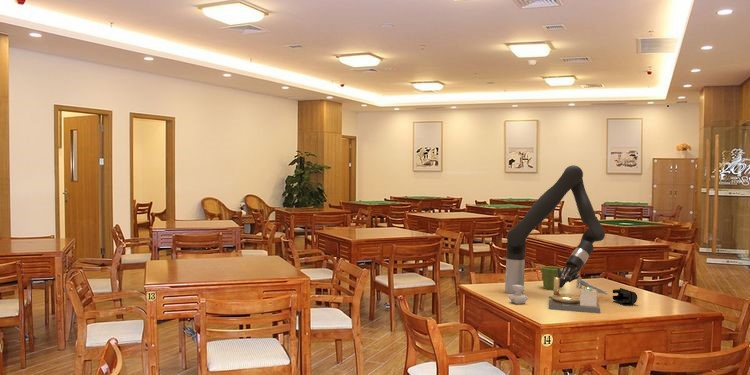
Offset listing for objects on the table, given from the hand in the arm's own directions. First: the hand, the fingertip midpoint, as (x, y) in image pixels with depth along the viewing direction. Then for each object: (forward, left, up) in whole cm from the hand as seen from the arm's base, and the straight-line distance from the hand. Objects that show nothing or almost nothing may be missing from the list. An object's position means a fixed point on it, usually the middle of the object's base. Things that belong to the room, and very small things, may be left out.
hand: (559, 286), depth 305 cm
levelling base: (+6, -8, -7) cm, 13 cm away
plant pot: (-4, +36, -8) cm, 37 cm away
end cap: (+30, +9, -8) cm, 33 cm away
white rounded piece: (-19, -10, -8) cm, 22 cm away
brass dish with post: (+3, -5, -5) cm, 8 cm away
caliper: (+18, +39, -8) cm, 43 cm away
